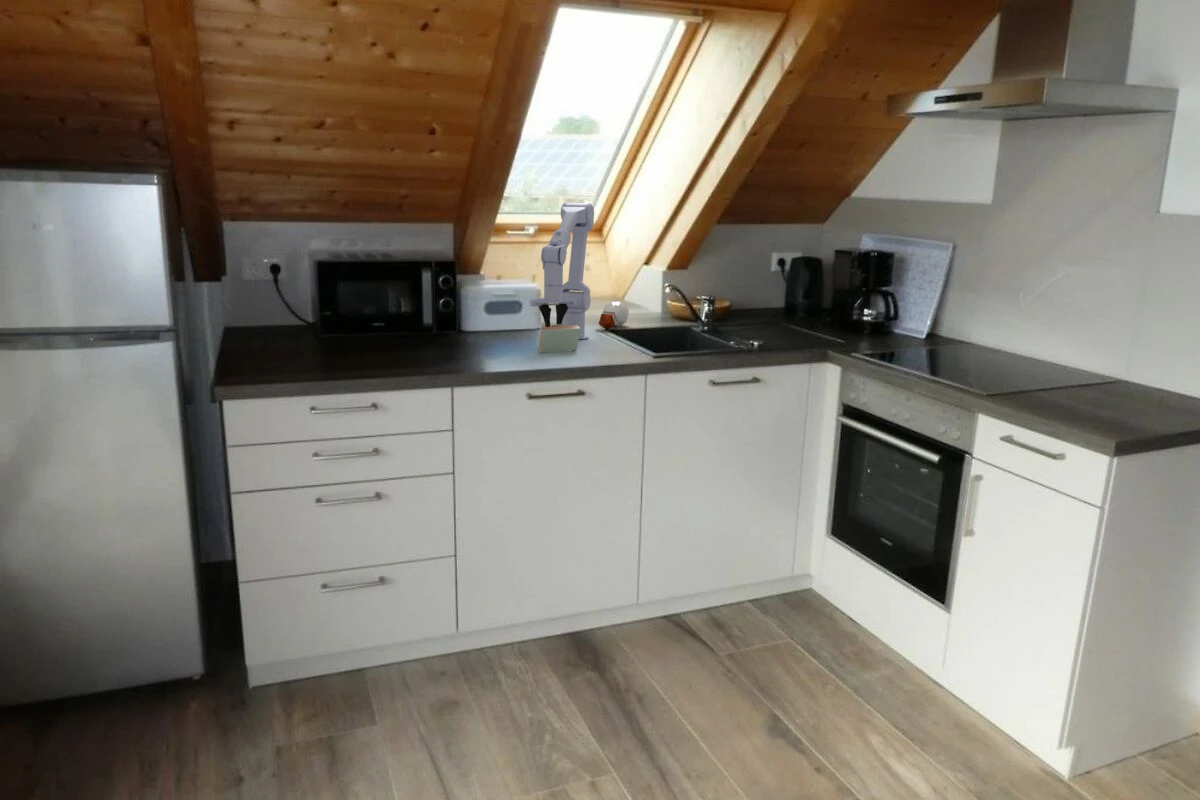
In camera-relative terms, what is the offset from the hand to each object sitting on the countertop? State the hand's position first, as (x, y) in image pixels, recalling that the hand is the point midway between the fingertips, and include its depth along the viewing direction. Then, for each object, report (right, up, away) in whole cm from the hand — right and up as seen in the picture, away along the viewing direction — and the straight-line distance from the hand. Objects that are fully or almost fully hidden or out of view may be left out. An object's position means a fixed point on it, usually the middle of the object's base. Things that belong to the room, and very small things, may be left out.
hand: (553, 328), depth 273 cm
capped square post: (-1, -2, +2) cm, 3 cm away
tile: (+1, -7, -2) cm, 7 cm away
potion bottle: (+20, +3, +41) cm, 45 cm away
